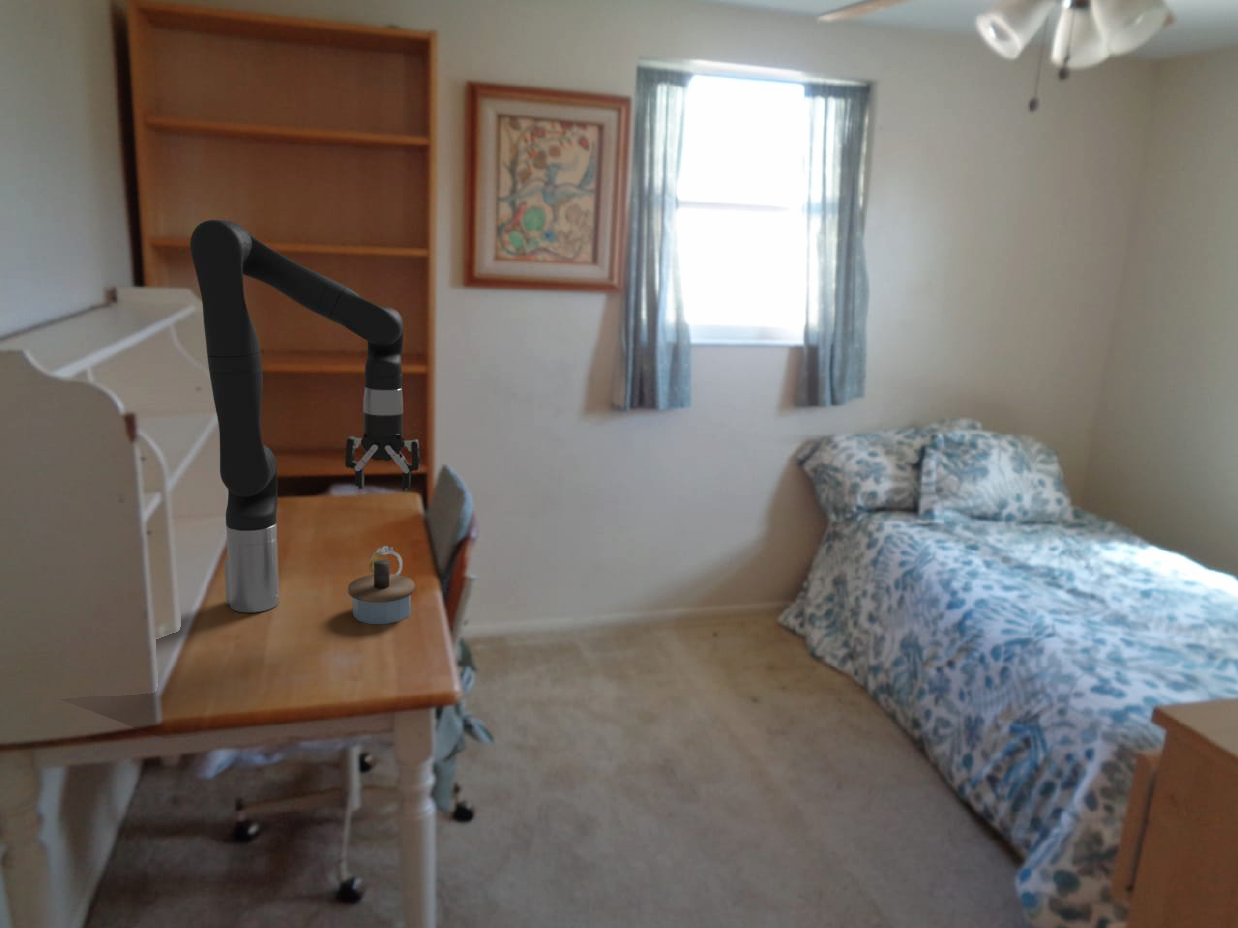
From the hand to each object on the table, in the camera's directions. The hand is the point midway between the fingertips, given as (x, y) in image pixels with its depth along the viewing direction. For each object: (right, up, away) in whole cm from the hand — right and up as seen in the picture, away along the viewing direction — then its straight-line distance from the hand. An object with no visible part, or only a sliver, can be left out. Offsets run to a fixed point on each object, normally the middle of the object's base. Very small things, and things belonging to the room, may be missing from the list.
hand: (382, 489), depth 173 cm
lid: (0, -20, 0) cm, 20 cm away
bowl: (-1, -25, +2) cm, 25 cm away
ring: (-4, -21, +18) cm, 28 cm away
